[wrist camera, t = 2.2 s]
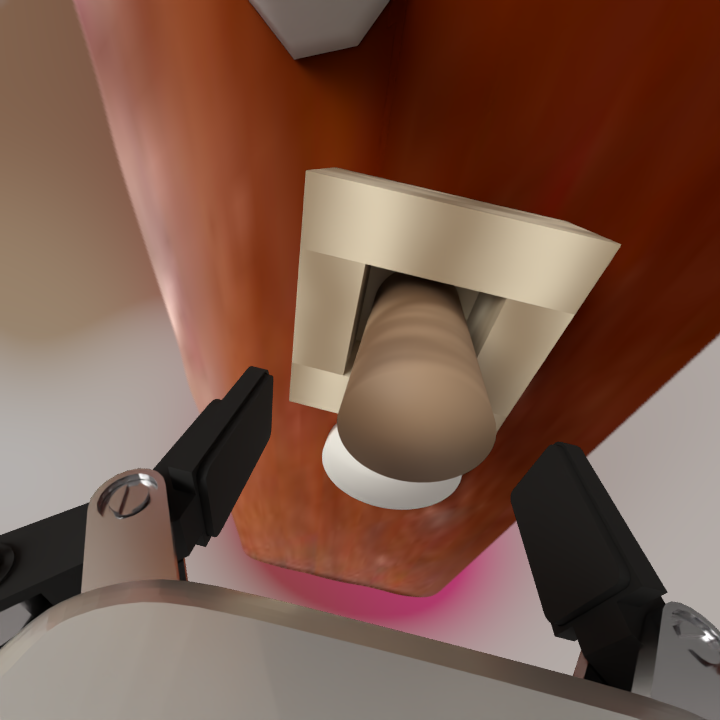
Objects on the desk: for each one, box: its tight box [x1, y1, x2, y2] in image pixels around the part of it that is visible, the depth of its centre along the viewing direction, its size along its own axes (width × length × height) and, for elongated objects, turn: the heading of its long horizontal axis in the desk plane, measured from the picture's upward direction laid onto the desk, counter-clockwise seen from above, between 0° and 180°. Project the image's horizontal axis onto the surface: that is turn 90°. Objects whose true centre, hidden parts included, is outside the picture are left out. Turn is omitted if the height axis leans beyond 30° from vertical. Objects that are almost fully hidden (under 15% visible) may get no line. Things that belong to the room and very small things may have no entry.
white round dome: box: [322, 424, 462, 509], centre depth 27 cm, size 12×12×1 cm
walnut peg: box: [337, 271, 496, 483], centre depth 14 cm, size 5×5×10 cm
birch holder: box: [289, 168, 621, 433], centre depth 17 cm, size 12×12×5 cm
